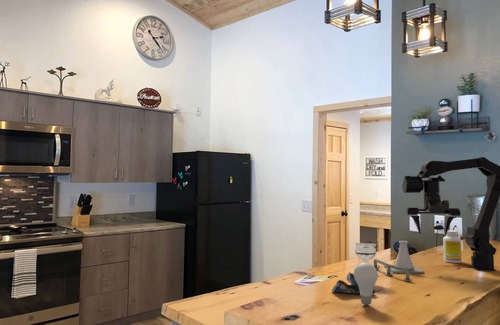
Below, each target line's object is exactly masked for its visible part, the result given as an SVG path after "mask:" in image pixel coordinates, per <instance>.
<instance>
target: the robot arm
mask: <svg viewBox="0 0 500 325" xmlns="http://www.w3.org/2000/svg"><path fill="white" fill-rule="evenodd" d="M420 168H421V169H420V171H419V172H418V174H417V175H415V176H414V175H413V176H412V175H404V176H403V181H402V185H401V186H402V187H401V188H402V192H403V194H420V193H421V192H423V198H422V199H423V208H419V207H417V206H407V207H406V208H405V215H408V216H409V217H411V218H412V220H413V222H414V224H415V227H416V229H417V232H418V234H419V235H421V234H422V232H421V231H422V230H421V222H420V218H421V217H420V215H419V214H427V215H429V214H433V215H444V219H443V220H444V222H443V223H444V224H443V230H444V231H443V232H444V235H446V234H447V231H448V230H449V229H450V225H451V223H452V222H453V220H454V219H457V218H458V217H460V216H461V209H460V208H457V207H450V202H449V200H448V199H446V200H445V199H443V200H441V193H440V192H441V190H440V182H441V183H442V182H446V179H445V178H444V177H442V176H441V175H442V174H445V173H448V172H451V171H459V170H468V169H477V170H479V172H480V173H481V174H482V175H484V176H485V177H486V180H485V182H486V192H485V195H484V198H483V201H482V205H480V206H481V207H480V210H479V213H478V216H477V219H476V221H475V224H474V225H473V226H467V229H466V233H465V234H464V235H463V236H464V237H465V239H464V240H465V243H466V245H467V246H468V247H469V248H470V251H472V255H471V256H470V257H471V258H470V259H471V260H470V261H471V262H470V263H471V268H473V269H475V270H477V271H488V272H491V271H492V272H496V271H497V270H496V269H495V260H494V259H495V256H494V255H496V253H497V248H496V247H495V246H494V245H492V244H491V242H490V239H491V232H490V227H491V223H492V220H493V218H494V215H495V212H496V210H497V209H496V208H497V206H498V203H499V200H500V165H499V164H497V163H495V162H493V161H491V160H489V159H488V158H487V157H484V156H479V157H475V158H469V159H461V160H451V161H443V160H429V161H425V162H424V163H422V165H421V167H420ZM433 176H434V177H433ZM435 176H436V177H435ZM457 216H458V217H457Z"/></svg>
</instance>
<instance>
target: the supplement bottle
mask: <svg viewBox="0 0 500 325" xmlns="http://www.w3.org/2000/svg"><path fill="white" fill-rule="evenodd" d="M458 234H459V231H458V230H450V229H448V231H447V234H445V236H443V238H442V243H443V244H442V246H443V247H442V248H443V249H442V250H443V251H442V252H443V261H444V262H446V263H449V262H450V263H451V264H460V263H462V260H463V259H462V243H461V242H462V239H461V237H459V236H458ZM450 263H449V264H450Z"/></svg>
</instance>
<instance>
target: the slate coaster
mask: <svg viewBox="0 0 500 325" xmlns="http://www.w3.org/2000/svg"><path fill="white" fill-rule="evenodd" d="M413 266H414V269H411V270H409V273H410V275H411V274H412V275H415V274H416V275H418V274H417V273H426V272H425V270H422V269H421V268H418V267H416V266H415V265H413ZM383 268H385V269H386V270H387V266H385V265H383ZM390 272H391V274H395V273H400V274H401V275H402V274H403V275H404V273H406V272H405V271H402V270H398V269H394V268H390Z"/></svg>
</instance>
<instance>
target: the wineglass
mask: <svg viewBox="0 0 500 325" xmlns="http://www.w3.org/2000/svg"><path fill="white" fill-rule="evenodd" d="M354 245H355V248H354V253H355V255H356V256H357V257H358V259H360V260H362V262H363V263H364V262H365V263H369V260H372V259H373V258H374V257H376V255H377V250H376V248H375V247H376V246H377V244H375V243H370V242H369V243H368V242H357V243H356V242H355V244H354Z"/></svg>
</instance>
